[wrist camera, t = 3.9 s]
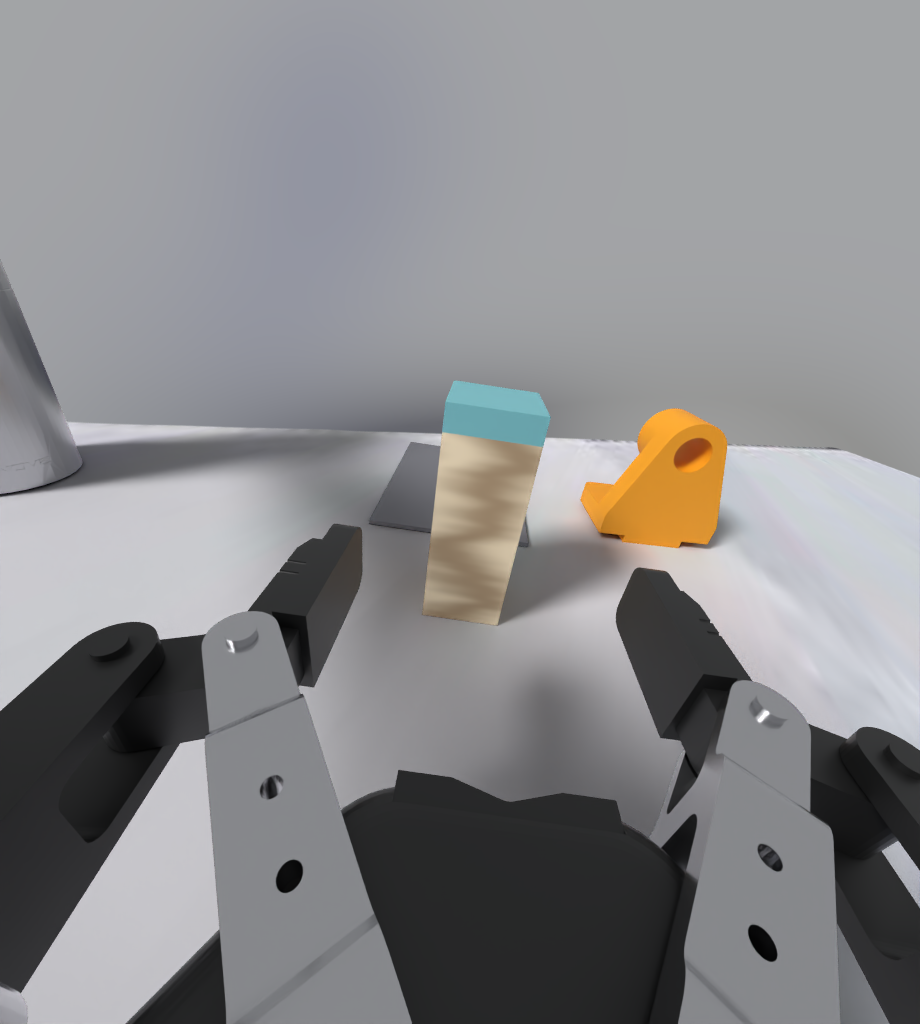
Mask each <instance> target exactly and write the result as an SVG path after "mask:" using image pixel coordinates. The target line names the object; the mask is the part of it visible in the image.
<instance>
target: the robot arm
mask: <svg viewBox="0 0 920 1024" xmlns="http://www.w3.org/2000/svg"><path fill="white" fill-rule="evenodd" d="M82 463H83V462H82V459H81V456H80V454H79V451H78V449H77V446H76V444H75V441H74V439H73V436H72V434H71V432H70V429H69V427H68V424H67V422H66V418H65V416H64V414H63V411H62V409H61V406H60V404H59V402H58V399H57V397H56V394H55V392H54V389H53V387H52V384H51V382H50V379H49V377H48V374H47V372H46V370H45V367H44V365H43V362H42V360H41V357H40V355H39V352H38V350H37V348H36V345H35V343H34V340H33V338H32V335H31V333H30V330H29V328H28V325H27V323H26V320H25V318H24V316H23V313H22V311H21V308H20V306H19V303H18V301H17V298H16V296H15V294H14V291H13V289H12V288H11V284H10V282H9V280H8V277H7V275H6V272H5V270H4V268H3V266H2V262H1V260H0V494H3V493H10V492H16V491H21V490H26V489H30V488H34V487H38V486H42V485H46V484H49V483H52V482H55V481H58V480H60V479H62V478H65V477H67V476H69V475H71V474H72V473H74V472H76V471H77V470H78V469H79V468H80V467H81V465H82ZM361 577H362V530H361V528H360V527H354V526H347V525H340V524H333V525H332V527H331V528H330V529H329V531H328V532H327V534H326V535H325V536H324V538H323V539H315V538H312V539H311V540H309V541H307V542H306V543H304V544H302V545H301V546H299V547H297V549H296V550H295V551H294V552H293V554H292V555H291V556H290V558H289V559H288V562H286V563H285V564H284V565H283V567H282V568H281V569H280V572H279V573H277V574H276V575H275V577H274V578H273V579H272V581H271V582H270V583H269V584H268V586H267V587H266V588H265V590H264V591H263V592H262V593H261V595H260V596H259V597H258V598H257V600H256V601H255V602H254V604H253V605H252V606H251V607H250V609H249V610H248V611H247V612H242V613H237V614H234V615H232V616H229V617H227V618H225V619H223V620H221V621H220V622H218V623H217V624H216V625H214V626H213V627H212V628H211V629H210V630H209V631H208V632H207V634H204V635H198V636H189V637H181V638H172V639H163V640H160V639H159V637H158V634H157V632H156V630H155V629H154V627H152V626H151V625H149V624H146V623H141V622H127V623H121V624H116V625H112V626H109V627H106V628H103V629H101V630H99V631H96V632H94V633H92V634H90V635H89V636H87V637H85V638H84V639H82V640H81V641H79V642H78V643H77V644H75V645H74V646H73V647H72V648H71V649H70V650H68V651H67V652H66V653H65V654H64V655H63V656H62V657H61V658H59V659H58V660H57V661H56V662H55V663H54V664H53V665H52V666H50V667H49V668H48V669H47V670H46V671H45V672H44V673H43V674H41V675H40V676H39V677H38V678H37V679H36V680H35V681H34V682H33V683H31V684H30V685H29V686H28V687H27V688H26V689H25V690H24V691H22V692H21V693H20V694H19V695H18V696H17V697H16V698H15V699H13V700H12V701H11V702H10V703H9V704H8V705H7V706H6V707H4V708H3V709H2V710H1V711H0V1024H27V1021H28V1011H27V1005H26V1002H25V999H24V997H23V996H22V995H21V994H20V993H21V992H22V990H23V989H24V987H25V986H26V984H27V983H28V981H29V979H30V978H31V976H32V975H33V973H34V972H35V970H36V968H37V967H38V965H39V964H40V962H41V961H42V959H43V957H44V956H45V954H46V953H47V951H48V950H49V948H50V946H51V945H52V943H53V942H54V940H55V939H56V937H57V935H58V934H59V932H60V931H61V929H62V928H63V926H64V924H65V923H66V921H67V920H68V918H69V917H70V915H71V913H72V912H73V910H74V909H75V907H76V906H77V904H78V902H79V901H80V899H81V898H82V896H83V895H84V893H85V891H86V890H87V888H88V887H89V885H90V884H91V882H92V881H93V879H94V877H95V876H96V874H97V873H98V871H99V870H100V868H101V866H102V865H103V863H104V862H105V860H106V859H107V857H108V855H109V854H110V852H111V851H112V849H113V848H114V846H115V844H116V843H117V841H118V840H119V838H120V837H121V835H122V833H123V832H124V830H125V829H126V827H127V826H128V824H129V822H130V821H131V819H132V818H133V816H134V815H135V813H136V811H137V810H138V808H139V807H140V805H141V804H142V802H143V800H144V799H145V797H146V796H147V794H148V793H149V791H150V790H151V788H152V786H153V785H154V783H155V782H156V780H157V779H158V777H159V775H160V774H161V772H162V771H163V769H164V768H165V766H166V764H167V763H168V761H169V760H170V758H171V757H172V755H173V753H174V752H175V750H176V749H177V747H178V746H179V744H180V743H183V742H188V741H194V740H199V739H205V756H206V768H207V781H208V793H209V805H210V817H211V830H212V842H213V854H214V866H215V879H216V891H217V903H218V916H219V928H220V929H219V930H218V931H217V932H216V933H215V934H214V935H213V936H212V937H211V938H210V939H209V940H208V941H207V942H206V943H205V944H204V945H203V946H202V947H201V948H200V949H199V950H198V951H197V953H196V954H195V955H194V956H193V957H192V958H191V959H190V960H189V961H188V962H187V963H186V964H185V965H184V966H183V967H182V968H181V969H180V970H179V971H178V972H177V973H176V974H175V975H174V976H173V977H172V978H171V979H170V980H169V981H168V982H167V983H166V984H165V985H164V986H163V987H162V988H161V989H160V990H159V991H158V992H157V993H156V994H155V995H154V996H153V997H152V998H151V999H150V1000H149V1001H148V1002H147V1003H146V1004H145V1005H144V1006H143V1007H142V1008H141V1009H140V1010H139V1011H138V1012H137V1013H136V1014H135V1015H134V1016H133V1017H132V1018H131V1019H130V1020H129V1021H128V1022H127V1023H126V1024H840V998H839V972H838V946H837V923H838V925H839V927H840V929H841V931H842V933H843V935H844V937H845V939H846V941H847V942H848V944H849V946H850V948H851V950H852V952H853V954H854V956H855V958H856V960H857V962H858V964H859V965H860V967H861V969H862V971H863V973H864V975H865V977H866V979H867V981H868V983H869V985H870V987H871V989H872V990H873V992H874V994H875V996H876V998H877V1000H878V1002H879V1004H880V1006H881V1008H882V1010H883V1012H884V1013H885V1015H886V1017H887V1019H888V1021H889V1023H890V1024H920V908H919V906H918V905H917V903H916V902H915V900H914V899H913V897H912V896H911V894H910V893H909V891H908V890H907V888H906V887H905V885H904V884H903V882H902V881H901V879H900V878H899V876H898V875H897V874H896V872H895V871H894V869H893V868H892V866H891V865H890V863H889V862H888V860H887V859H886V857H885V856H884V854H883V853H882V850H884V849H885V848H887V847H889V846H890V845H892V844H893V843H895V842H897V841H899V842H900V843H901V845H902V846H903V848H904V849H905V850H906V852H907V853H908V855H909V856H910V857H911V859H912V860H913V862H914V863H915V864H916V866H917V867H918V869H919V870H920V750H918V749H917V748H915V747H914V746H912V745H911V744H909V743H908V742H906V741H904V740H903V739H901V738H899V737H897V736H895V735H893V734H891V733H889V732H886V731H884V730H881V729H877V728H873V727H862V728H860V729H858V730H857V731H856V732H855V733H854V734H853V735H852V736H851V737H850V738H848V739H845V738H843V737H840V736H838V735H835V734H833V733H830V732H828V731H825V730H823V729H820V728H818V727H815V726H812V725H810V724H808V723H807V721H806V719H805V718H804V716H803V715H802V714H801V713H800V711H799V710H798V709H797V708H796V707H795V706H794V705H793V704H792V703H791V702H790V701H788V700H787V699H786V698H785V697H783V696H782V695H780V694H779V693H778V692H776V691H774V690H773V689H771V688H769V687H767V686H765V685H762V684H760V683H757V682H753V681H752V680H751V678H750V677H749V676H748V674H747V673H746V671H745V670H744V668H743V667H742V665H741V664H740V663H739V661H738V660H737V658H736V657H735V655H734V654H733V652H732V651H731V650H730V648H729V647H728V645H727V644H726V642H725V641H724V639H723V638H722V637H721V636H719V632H718V631H717V629H716V628H715V626H714V625H713V624H712V623H710V619H709V618H708V616H707V615H706V613H705V612H704V611H703V609H702V608H701V606H700V605H699V604H698V603H697V602H695V601H694V600H693V599H692V598H691V597H690V596H688V595H687V594H686V593H685V592H684V591H680V590H679V588H678V587H677V585H676V584H675V582H674V581H673V579H672V578H671V576H670V575H669V573H667V572H666V571H660V570H653V569H646V568H637V569H635V570H634V572H633V574H632V576H631V578H630V580H629V582H628V585H627V587H626V589H625V591H624V594H623V596H622V598H621V600H620V603H619V605H618V608H617V612H616V624H617V628H618V631H619V634H620V636H621V639H622V641H623V644H624V646H625V649H626V651H627V654H628V656H629V659H630V662H631V664H632V667H633V669H634V672H635V674H636V677H637V679H638V682H639V685H640V687H641V690H642V692H643V695H644V697H645V700H646V702H647V705H648V708H649V710H650V713H651V715H652V718H653V720H654V723H655V725H656V728H657V731H658V733H659V736H660V738H666V739H673V740H680V741H681V742H682V745H683V747H684V750H683V751H682V753H681V754H680V756H679V758H678V761H677V764H676V767H675V770H674V773H673V776H672V779H671V782H670V785H669V788H668V791H667V794H666V797H665V800H664V803H663V806H662V809H661V812H660V815H659V818H658V821H657V823H656V825H655V828H654V830H653V832H652V833H651V835H650V837H649V838H647V837H646V836H645V835H643V834H642V833H641V832H639V831H637V830H635V829H634V828H632V827H630V826H629V825H627V824H625V823H623V822H621V818H620V814H619V810H618V806H617V802H616V801H615V800H608V799H601V798H593V797H586V796H579V795H572V794H565V793H561V794H555V795H549V796H543V797H538V798H532V799H526V800H521V801H515V802H507V801H503V800H501V799H499V798H496V797H494V796H492V795H490V794H487V793H485V792H483V791H481V790H479V789H476V788H474V787H472V786H470V785H467V784H465V783H463V782H461V781H459V780H456V779H454V778H452V777H445V776H438V775H431V774H424V773H416V772H409V771H402V770H398V775H397V780H396V785H395V787H393V788H388V789H383V790H380V791H377V792H373V793H370V794H368V795H366V796H364V797H362V798H360V799H357V800H356V801H354V802H352V803H351V804H349V805H348V806H346V807H344V808H343V809H342V810H340V806H339V803H338V800H337V797H336V794H335V791H334V788H333V784H332V781H331V778H330V775H329V772H328V769H327V766H326V762H325V759H324V756H323V753H322V750H321V747H320V744H319V740H318V737H317V734H316V731H315V728H314V725H313V721H312V718H311V715H310V712H309V709H308V706H307V703H306V700H305V698H304V695H303V694H300V692H299V689H298V687H299V685H301V686H308V687H314V686H315V684H316V682H317V679H318V677H319V675H320V673H321V671H322V668H323V666H324V664H325V662H326V660H327V657H328V655H329V653H330V651H331V649H332V646H333V644H334V642H335V640H336V638H337V636H338V633H339V631H340V629H341V627H342V625H343V622H344V620H345V618H346V616H347V614H348V611H349V609H350V607H351V605H352V603H353V600H354V598H355V596H356V594H357V592H358V589H359V586H360V582H361Z"/></svg>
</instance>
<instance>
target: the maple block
mask: <svg viewBox="0 0 920 1024" xmlns="http://www.w3.org/2000/svg"><path fill="white" fill-rule="evenodd" d="M550 418H551V417H550V415H549V413H548V411H547V409H546V407H545V405H544V403H543V401H542V399H541V397H540V395H539V393H534V392H528V391H521V390H514V389H507V388H501V387H494V386H488V385H481V384H474V383H467V382H461V381H454V382H453V385H452V387H451V390H450V392H449V394H448V397H447V399H446V403H445V412H444V421H443V430H442V439H441V448H440V457H439V466H438V475H437V484H436V493H435V502H434V511H433V521H432V530H431V539H430V548H429V557H428V566H427V575H426V584H425V593H424V602H423V611H422V615H427V616H434V617H441V618H448V619H455V620H462V621H469V622H476V623H482V624H489V625H496V626H497V625H498V621H499V617H500V613H501V609H502V605H503V601H504V597H505V593H506V590H507V586H508V582H509V578H510V574H511V570H512V566H513V562H514V558H515V554H516V551H517V547H518V543H519V539H520V535H521V531H522V527H523V523H524V519H525V515H526V512H527V508H528V504H529V500H530V496H531V492H532V488H533V484H534V480H535V476H536V472H537V469H538V465H539V461H540V457H541V453H542V449H543V445H544V441H545V437H546V433H547V430H548V425H549V422H550Z"/></svg>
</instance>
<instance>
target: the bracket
mask: <svg viewBox="0 0 920 1024" xmlns="http://www.w3.org/2000/svg"><path fill="white" fill-rule="evenodd" d="M638 450H639V452H640V454H639V455H638V456H637V457H636V459H635V460H634V461H633V462H632V464H631V465H630V466H629V467H628V468H627V470H626V471H625V472H624V473H623V474H622V476H621V477H620V478H619V479H618V480H617V482H616V483H615V484H614V485H611V484H603V483H595V482H587V483H586V484H585V487H584V490H583V493H582V496H581V499H580V500H581V502H582V504H583V505H584V507H585V509H586V511H587V512H588V514H589V516H590V518H591V519H592V521H593V523H594V525H595V526H596V528H597V530H598V532H600V533H609V534H618V536H619V537H620V539H621V540H622V542H628V543H637V544H646V545H655V546H664V547H673V548H679V546H680V544H681V542H689V543H698V544H708V542H709V541H710V539H711V537H712V535H713V534H714V532H715V530H716V528H717V521H718V513H719V505H720V498H721V490H722V483H723V475H724V467H725V460H726V452H727V440H726V437H725V435H724V433H723V432H722V431H721V430H720V429H718V428H717V427H715V426H713V425H711V424H709V423H707V422H706V421H704V420H702V419H700V418H698V417H696V416H695V415H693V414H691V413H689V412H687V411H685V410H682V409H667V410H664V411H661V412H659V413H657V414H656V415H654V416H653V417H651V418H650V419H649V420H648V421H647V422H646V423H645V425H644V426H643V427H642V429H641V431H640V433H639V436H638Z"/></svg>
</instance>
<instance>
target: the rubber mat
mask: <svg viewBox="0 0 920 1024" xmlns="http://www.w3.org/2000/svg"><path fill="white" fill-rule="evenodd" d="M440 448H441V446H434V445H428V444H421V443H414V442H411V443H410V445H409V447H408V448H407V450H406V452H405V454H404V456H403V458H402V460H401V462H400V463H399V465H398V467H397V469H396V471H395V473H394V475H393V477H392V479H391V480H390V482H389V484H388V486H387V488H386V490H385V492H384V494H383V496H382V497H381V499H380V501H379V503H378V505H377V507H376V509H375V511H374V512H373V514H372V516H371V518H370V524H375V525H382V526H389V527H396V528H402V529H409V530H416V531H423V532H430V533H431V530H432V521H433V511H434V502H435V493H436V484H437V475H438V466H439V457H440ZM518 546H525V547H527V546H528V538H527V532H526V526H525V519H524V523H523V527H522V531H521V535H520V539H519V543H518Z"/></svg>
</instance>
